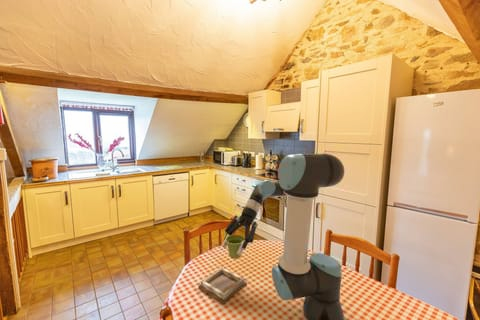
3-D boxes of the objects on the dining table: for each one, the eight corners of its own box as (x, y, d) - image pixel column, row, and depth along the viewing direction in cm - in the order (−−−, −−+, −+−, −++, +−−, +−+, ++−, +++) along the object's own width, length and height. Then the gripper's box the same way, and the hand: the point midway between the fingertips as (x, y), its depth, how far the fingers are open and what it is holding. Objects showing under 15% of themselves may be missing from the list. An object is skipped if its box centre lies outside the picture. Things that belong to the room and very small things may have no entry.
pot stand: (246, 284, 107) (246, 278, 106) (223, 304, 94) (223, 297, 94) (221, 271, 117) (221, 265, 116) (198, 287, 104) (198, 281, 104)
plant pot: (244, 261, 105) (244, 244, 104) (224, 260, 106) (224, 243, 105) (245, 250, 115) (245, 234, 113) (226, 250, 115) (226, 234, 114)
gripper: (271, 218, 113) (252, 262, 103) (238, 209, 127) (218, 246, 117) (265, 211, 108) (245, 256, 98) (232, 202, 122) (210, 240, 112)
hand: (230, 250), depth 107 cm, fingers closed on plant pot, 9 cm apart
